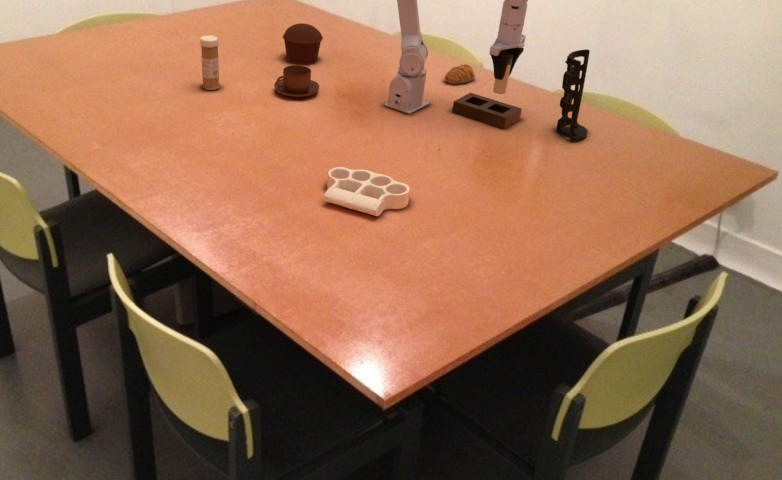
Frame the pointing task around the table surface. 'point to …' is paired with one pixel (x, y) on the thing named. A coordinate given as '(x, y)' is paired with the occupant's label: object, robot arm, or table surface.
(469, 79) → the pastry
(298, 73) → the cup and saucer
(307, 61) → the muffin
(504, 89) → the marker
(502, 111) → the block
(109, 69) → the table surface
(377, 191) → the knuckle duster
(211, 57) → the sprinkles bottle
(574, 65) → the holder
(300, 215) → the table surface
